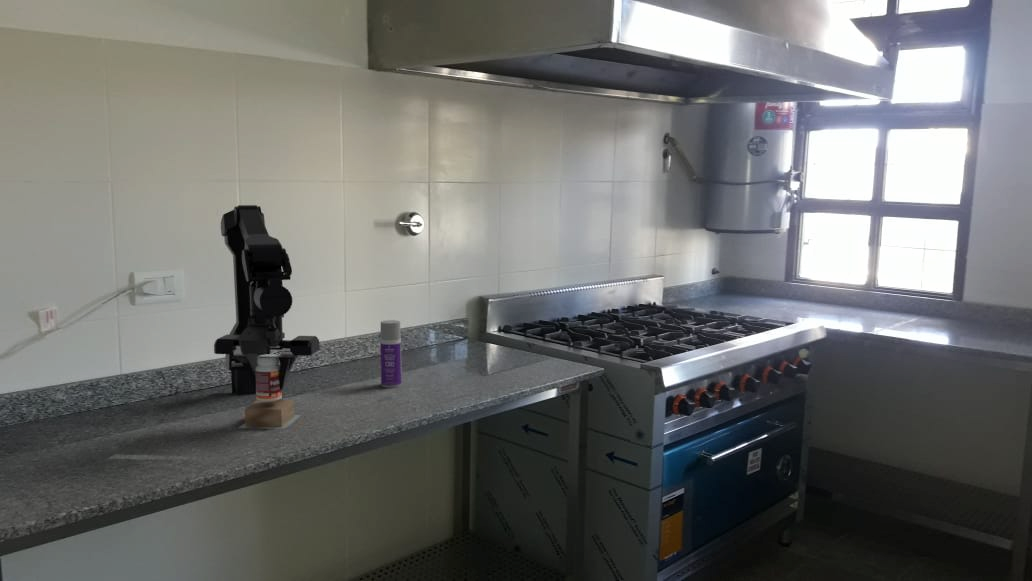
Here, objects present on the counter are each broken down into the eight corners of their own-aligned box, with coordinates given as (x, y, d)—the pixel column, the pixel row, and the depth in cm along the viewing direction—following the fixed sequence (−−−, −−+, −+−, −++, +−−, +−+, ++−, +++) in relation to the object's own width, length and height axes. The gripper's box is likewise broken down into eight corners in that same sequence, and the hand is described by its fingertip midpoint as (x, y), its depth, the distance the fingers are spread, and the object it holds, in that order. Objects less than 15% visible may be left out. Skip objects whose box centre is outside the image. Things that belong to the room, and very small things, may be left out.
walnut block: (245, 426, 150) (244, 408, 150) (259, 415, 157) (258, 399, 157) (281, 427, 150) (281, 409, 149) (294, 416, 157) (293, 399, 156)
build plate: (232, 432, 149) (232, 428, 149) (256, 413, 161) (256, 410, 161) (321, 433, 148) (321, 430, 148) (338, 415, 160) (338, 412, 160)
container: (384, 388, 181) (383, 324, 179) (378, 384, 185) (377, 320, 183) (404, 386, 183) (403, 322, 182) (397, 381, 188) (396, 319, 186)
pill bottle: (274, 402, 150) (273, 359, 149) (251, 401, 151) (250, 358, 150) (286, 396, 155) (285, 354, 154) (264, 394, 156) (263, 352, 155)
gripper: (199, 315, 143) (203, 399, 145) (300, 316, 142) (303, 401, 144) (224, 305, 154) (228, 383, 156) (319, 307, 153) (321, 385, 155)
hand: (269, 388), depth 153 cm, fingers open, 5 cm apart
